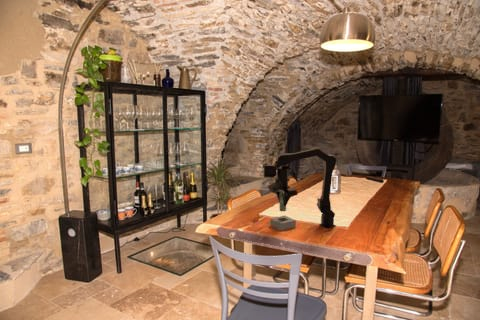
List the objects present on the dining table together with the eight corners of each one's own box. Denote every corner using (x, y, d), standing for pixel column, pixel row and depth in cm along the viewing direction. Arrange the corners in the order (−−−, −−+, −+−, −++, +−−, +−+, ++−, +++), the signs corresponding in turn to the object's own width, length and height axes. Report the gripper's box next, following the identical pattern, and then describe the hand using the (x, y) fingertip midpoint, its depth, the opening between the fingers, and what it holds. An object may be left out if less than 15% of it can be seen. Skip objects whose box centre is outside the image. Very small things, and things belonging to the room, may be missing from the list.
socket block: (295, 227, 176) (295, 220, 176) (280, 230, 172) (280, 223, 171) (284, 222, 185) (284, 215, 185) (270, 225, 181) (270, 218, 180)
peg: (287, 210, 176) (287, 192, 175) (282, 211, 175) (281, 193, 173) (283, 208, 180) (283, 191, 178) (278, 210, 178) (278, 192, 176)
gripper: (260, 176, 179) (261, 203, 181) (280, 182, 162) (280, 211, 165) (277, 173, 184) (277, 200, 186) (297, 179, 168) (298, 208, 170)
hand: (282, 205), depth 177 cm, fingers closed on peg, 4 cm apart
